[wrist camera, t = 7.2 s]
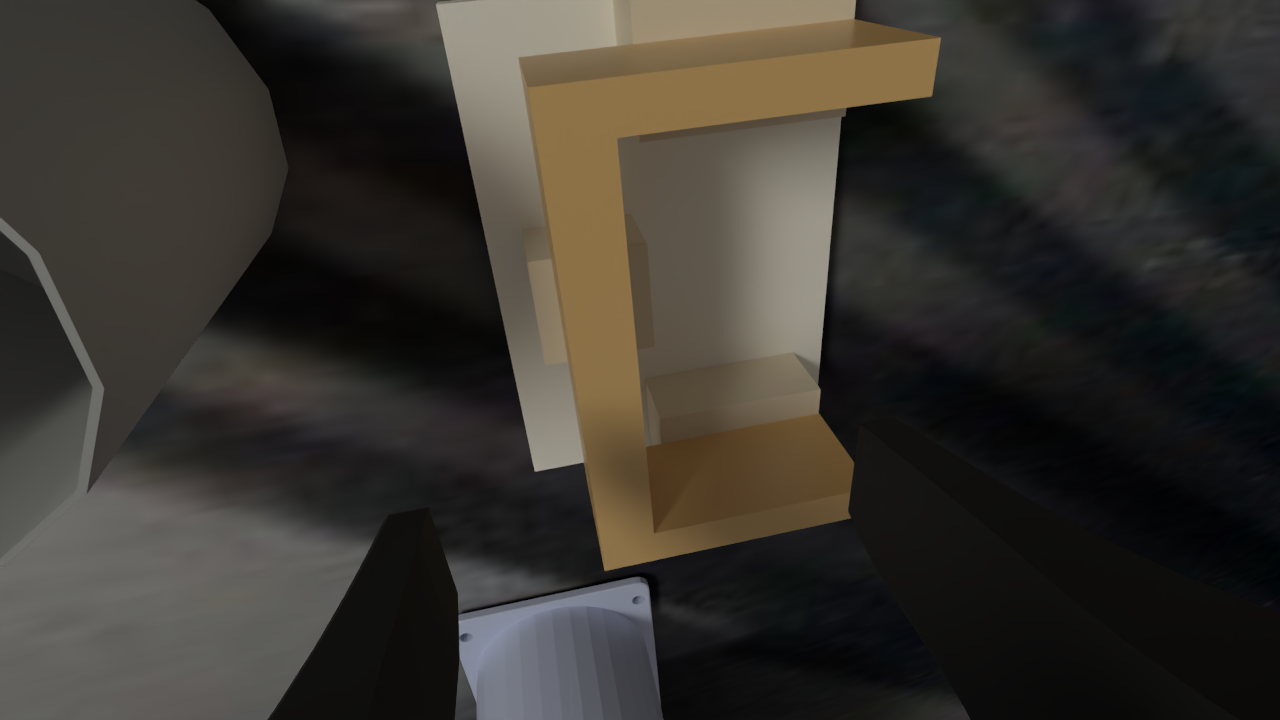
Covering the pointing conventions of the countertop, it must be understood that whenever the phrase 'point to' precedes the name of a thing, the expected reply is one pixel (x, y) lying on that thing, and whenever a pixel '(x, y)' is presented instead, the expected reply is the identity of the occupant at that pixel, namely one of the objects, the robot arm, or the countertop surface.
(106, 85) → the cup
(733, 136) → the display stand
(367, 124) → the countertop surface
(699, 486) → the tan u-shaped clamp
